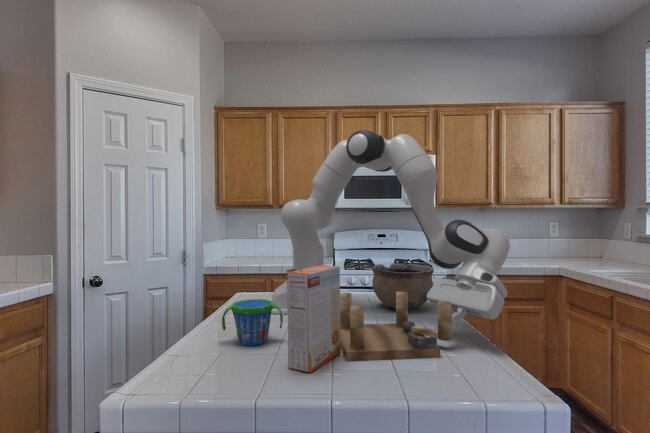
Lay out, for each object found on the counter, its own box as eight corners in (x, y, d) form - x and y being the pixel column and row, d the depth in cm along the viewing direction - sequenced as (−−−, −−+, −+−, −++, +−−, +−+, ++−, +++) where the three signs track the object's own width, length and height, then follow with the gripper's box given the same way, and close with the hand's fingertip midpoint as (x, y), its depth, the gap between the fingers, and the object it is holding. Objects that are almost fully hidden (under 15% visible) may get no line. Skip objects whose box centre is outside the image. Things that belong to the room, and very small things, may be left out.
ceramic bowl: (419, 300, 149) (418, 262, 150) (445, 313, 128) (445, 269, 128) (364, 302, 146) (364, 263, 146) (383, 316, 124) (382, 271, 124)
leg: (400, 330, 100) (400, 296, 100) (407, 328, 102) (407, 295, 102) (447, 341, 91) (447, 304, 91) (453, 338, 93) (453, 302, 93)
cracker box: (320, 349, 93) (320, 264, 93) (341, 353, 90) (341, 265, 90) (285, 368, 81) (285, 270, 81) (309, 374, 78) (309, 272, 78)
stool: (346, 361, 85) (346, 310, 85) (333, 332, 107) (333, 292, 107) (440, 357, 87) (440, 307, 87) (408, 329, 109) (408, 290, 109)
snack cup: (216, 348, 93) (217, 307, 93) (228, 335, 104) (228, 298, 104) (280, 349, 93) (280, 307, 93) (285, 336, 103) (285, 298, 104)
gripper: (436, 268, 108) (412, 307, 102) (503, 277, 90) (477, 325, 85) (447, 282, 110) (423, 321, 105) (514, 294, 93) (490, 341, 87)
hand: (448, 323), depth 95 cm, fingers closed
